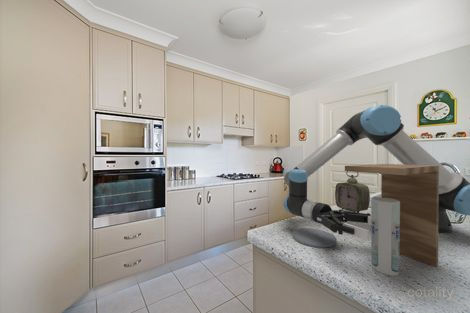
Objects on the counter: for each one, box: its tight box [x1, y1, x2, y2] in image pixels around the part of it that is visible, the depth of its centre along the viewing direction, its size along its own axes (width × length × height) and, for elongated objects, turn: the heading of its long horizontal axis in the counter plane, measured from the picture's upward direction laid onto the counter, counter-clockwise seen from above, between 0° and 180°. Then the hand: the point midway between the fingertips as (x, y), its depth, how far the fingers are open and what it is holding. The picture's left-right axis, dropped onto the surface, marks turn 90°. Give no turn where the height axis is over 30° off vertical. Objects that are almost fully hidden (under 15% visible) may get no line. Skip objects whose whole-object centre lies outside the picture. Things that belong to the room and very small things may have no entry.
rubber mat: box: [292, 227, 338, 249], centre depth 77 cm, size 16×16×1 cm
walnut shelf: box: [344, 163, 439, 268], centre depth 58 cm, size 24×14×30 cm, turn 120°
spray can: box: [370, 196, 400, 277], centre depth 56 cm, size 6×6×20 cm
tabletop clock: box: [334, 171, 371, 213], centre depth 105 cm, size 14×9×25 cm, turn 23°
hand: (380, 230), depth 56 cm, fingers open, 13 cm apart
